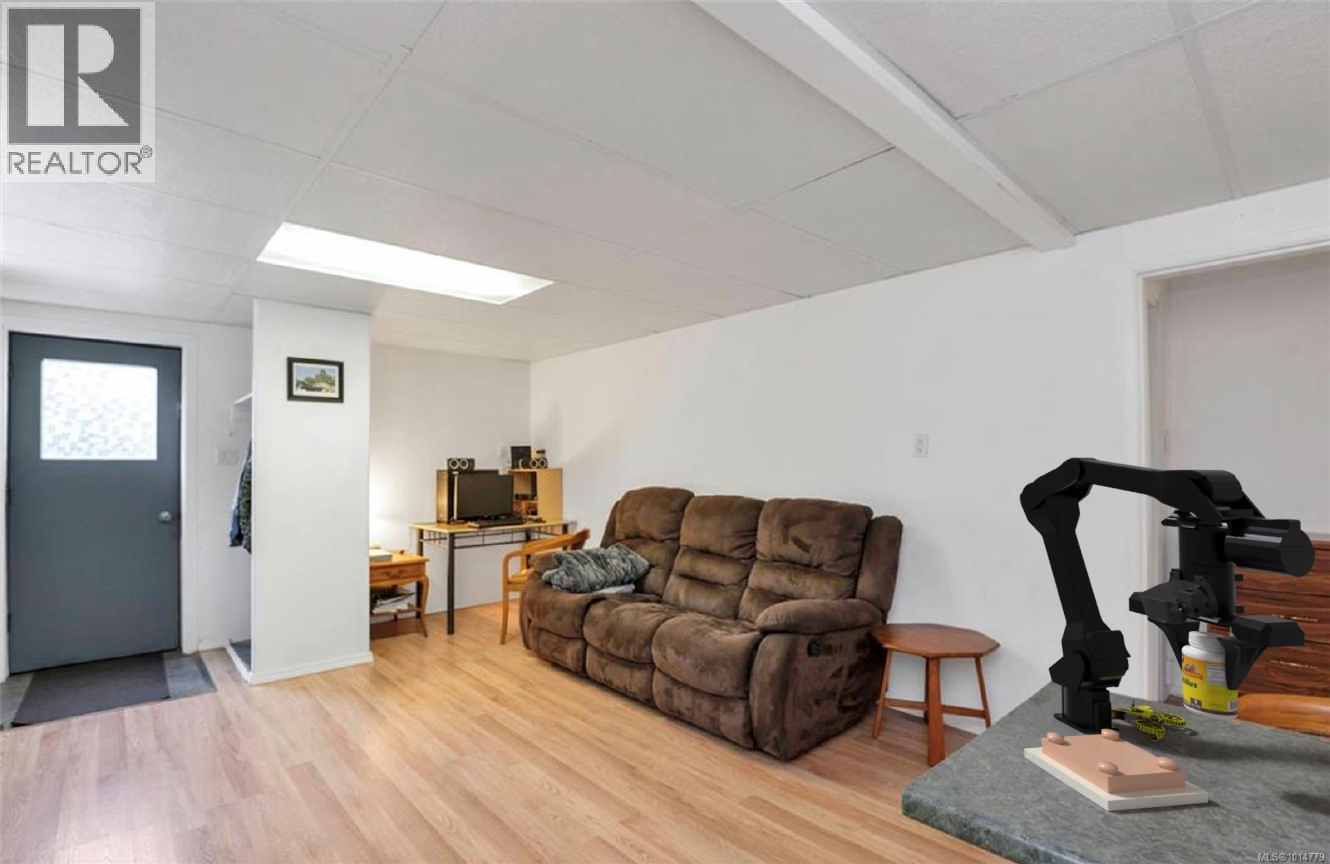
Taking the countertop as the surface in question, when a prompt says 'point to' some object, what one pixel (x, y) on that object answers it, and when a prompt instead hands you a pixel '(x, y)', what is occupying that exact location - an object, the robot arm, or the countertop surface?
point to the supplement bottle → (1207, 678)
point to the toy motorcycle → (1147, 719)
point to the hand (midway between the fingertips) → (1209, 681)
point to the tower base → (1118, 798)
